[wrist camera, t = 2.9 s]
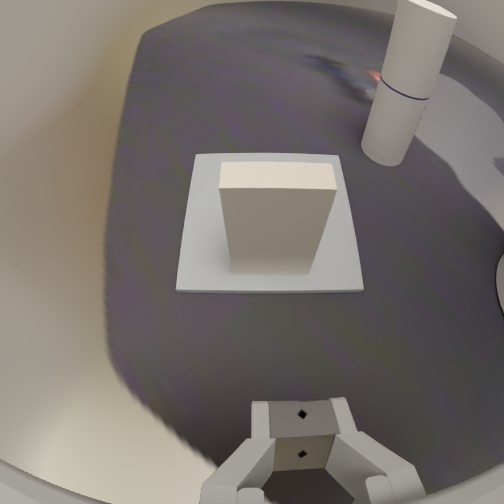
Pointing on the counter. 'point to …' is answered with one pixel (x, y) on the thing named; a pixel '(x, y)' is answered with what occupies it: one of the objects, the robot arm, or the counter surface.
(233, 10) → the counter surface
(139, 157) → the counter surface
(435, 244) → the counter surface
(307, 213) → the tile
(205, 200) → the mat
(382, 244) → the counter surface
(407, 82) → the cylindrical container
